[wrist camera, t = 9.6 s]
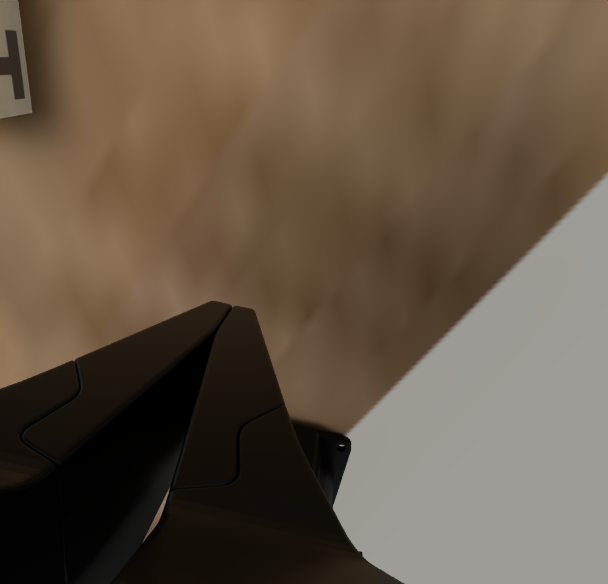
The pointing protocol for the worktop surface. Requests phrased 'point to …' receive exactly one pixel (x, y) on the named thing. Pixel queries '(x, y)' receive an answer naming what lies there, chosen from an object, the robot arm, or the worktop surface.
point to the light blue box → (12, 63)
